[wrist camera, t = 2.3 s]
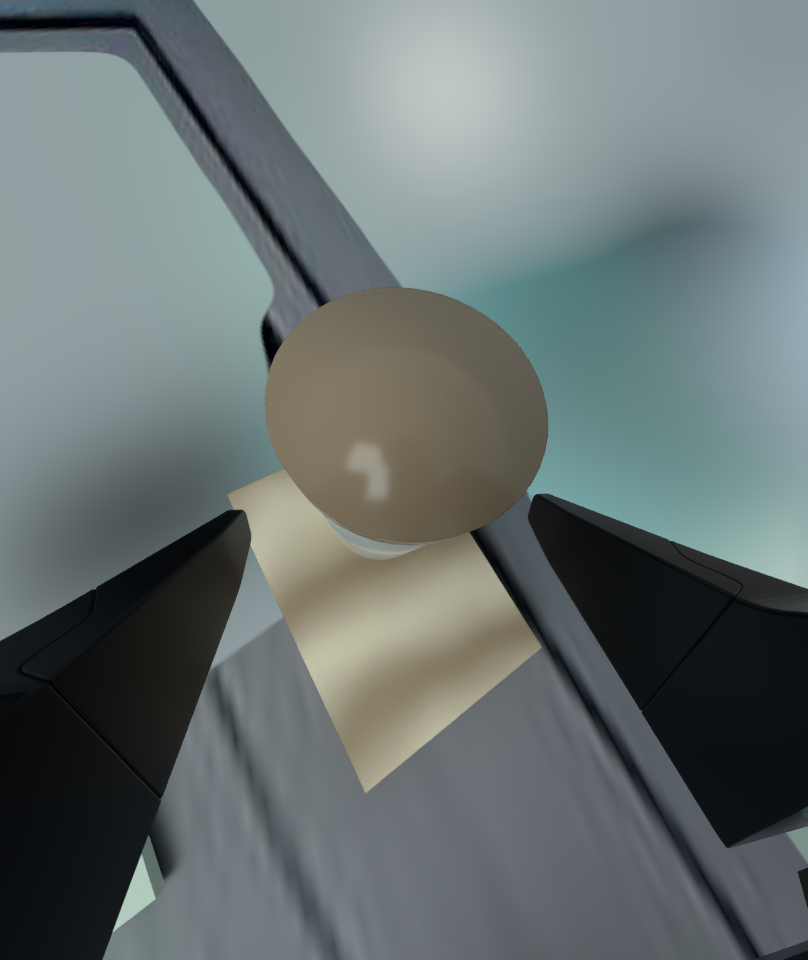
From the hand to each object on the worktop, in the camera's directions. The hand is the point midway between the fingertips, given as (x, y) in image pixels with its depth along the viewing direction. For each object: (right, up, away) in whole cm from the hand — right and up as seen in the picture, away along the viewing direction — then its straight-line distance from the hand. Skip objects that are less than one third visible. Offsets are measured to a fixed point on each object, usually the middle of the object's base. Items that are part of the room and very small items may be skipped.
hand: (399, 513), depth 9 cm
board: (-1, -4, +9) cm, 10 cm away
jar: (-1, -1, +8) cm, 8 cm away
